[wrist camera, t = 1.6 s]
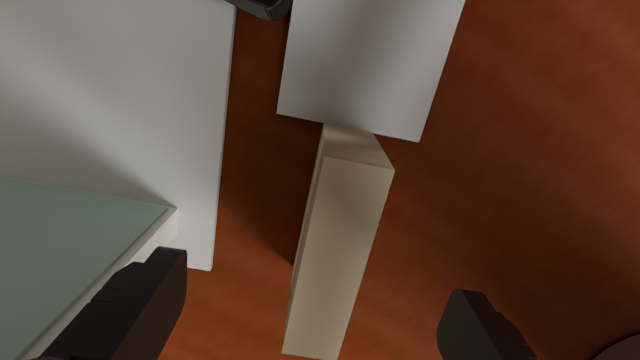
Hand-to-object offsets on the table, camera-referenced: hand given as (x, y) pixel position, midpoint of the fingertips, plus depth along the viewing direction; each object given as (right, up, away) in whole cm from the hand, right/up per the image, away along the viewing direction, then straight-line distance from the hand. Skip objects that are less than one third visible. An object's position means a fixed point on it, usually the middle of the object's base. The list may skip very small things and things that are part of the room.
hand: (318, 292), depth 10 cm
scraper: (+1, +6, +7) cm, 9 cm away
